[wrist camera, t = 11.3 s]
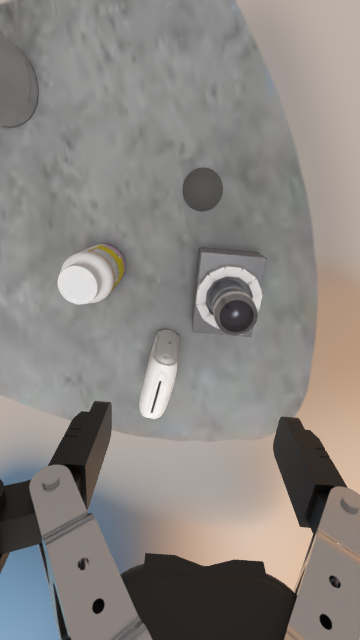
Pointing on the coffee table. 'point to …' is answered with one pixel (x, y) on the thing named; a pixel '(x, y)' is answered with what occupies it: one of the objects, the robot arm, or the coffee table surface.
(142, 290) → the coffee table surface
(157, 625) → the robot arm
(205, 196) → the lens cap
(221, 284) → the lens
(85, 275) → the supplement bottle
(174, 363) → the photo printer
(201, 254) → the camera body
